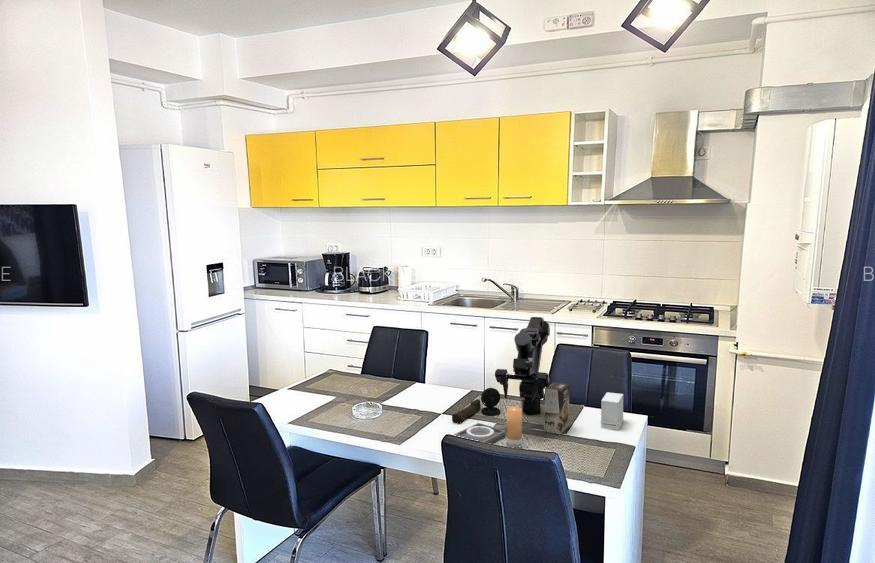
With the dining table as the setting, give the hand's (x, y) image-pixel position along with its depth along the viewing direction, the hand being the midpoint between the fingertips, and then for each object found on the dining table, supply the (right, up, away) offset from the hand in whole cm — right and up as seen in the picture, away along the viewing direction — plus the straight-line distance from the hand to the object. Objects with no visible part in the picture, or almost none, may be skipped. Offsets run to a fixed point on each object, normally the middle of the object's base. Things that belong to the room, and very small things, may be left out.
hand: (518, 399), depth 195 cm
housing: (-13, -14, +1) cm, 19 cm away
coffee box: (+15, -13, +9) cm, 22 cm away
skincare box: (+36, -12, +13) cm, 40 cm away
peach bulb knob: (-2, -14, -5) cm, 16 cm away
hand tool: (-17, -12, +23) cm, 31 cm away
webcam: (-7, -11, +26) cm, 29 cm away
